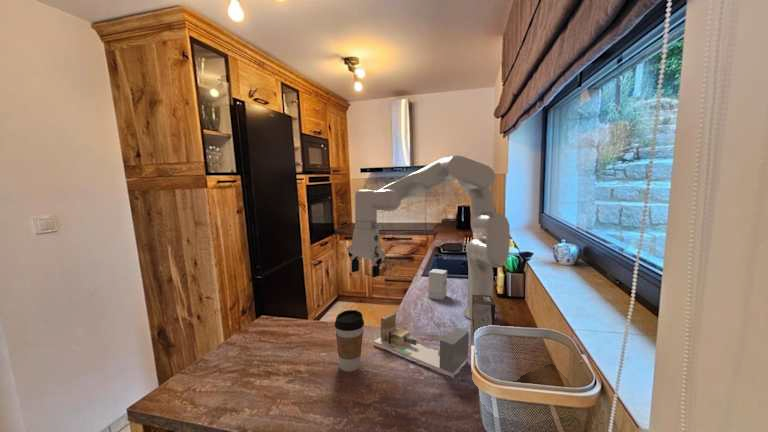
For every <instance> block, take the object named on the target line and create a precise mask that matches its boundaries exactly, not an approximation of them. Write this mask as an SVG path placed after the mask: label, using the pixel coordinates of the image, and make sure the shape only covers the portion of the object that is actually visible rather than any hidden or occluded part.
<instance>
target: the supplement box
mask: <svg viewBox="0 0 768 432" xmlns="http://www.w3.org/2000/svg"><path fill="white" fill-rule="evenodd" d="M427 281H428V284H427V285H428V287H427V288H428V290H427V292H428V293H427V298H428V299H433V300H437V301H438V300H439V301H443V300H444V299H445V298H446V297H447V290H448V289H447V288H448V287H447V286H448V269H447V270H446V269H439V268H432V269H431V270H430V271H429V272H428V280H427Z"/></svg>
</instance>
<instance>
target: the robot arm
mask: <svg viewBox="0 0 768 432" xmlns="http://www.w3.org/2000/svg"><path fill="white" fill-rule="evenodd" d="M495 179H496V174H495V171H494V169H493V168H492V167H491V166H489V165H487V164H484V163H482V162H480V161H476V160H474V159H472V158H471V159H470V158H468V157H466V156H462V155H457V154H456V155H451V156H446V157H442V158H440V159H438V160H436V161H434V162H432V163H430V164H429V165H426V166H424V167H423V168H420V169H419V170H417V171H415V172H412V173H410V174H408V175H406V176H404V177H402V178H401V179H398V180H396V181H394V182H392V183H389V184H388V185H385V186H383V187H381V188H380V189H378V190H374V189H373V190H372V189H358V190H356V191H355V195H354V196H355V197H354V198H355V199H354V200H355V202H354V204H355V205H354V228H353V233H352V241H351V245H349V246H348V247H346V251H347V254H348V255H347V256H348V257H349V261H350V262H351V273H356V272H359V271H360V260H359V258H361V259H364V260H365V259H366V260H370V261H371V262H372V264H373V265H372V267H371V269H372V270H371V271H372V272H371V273H372V274H371V277H372V278H377V277H379V276H380V273H381V272H380V271H381V270H380V269H381V265H382V263H383V262H384V261H385V258H386V257H387V253H386V252H385V251H383V250H382V249H381V237H380V236H381V235H380V231H379V229H377V228H379V223H378V221H377V216H378V215H377V213H378V211H382V212H384V211H385V212H393V211H396V210H397V209H398V208H399V207H400V206H401V205H402V204H401V203H402V201H403V200H404V199H405V200H406V199H409V198H411V197H415V196H421V195H425V194H426V193H428V192H430V191H432V190H434V189H436V188H438V187H440V186H441V185H443V184H445V183H447V182H449V181H453V180H454V181H455V180H457V182H458V184H459V186H460V187H461V188H463V189H464V190H465V191H466V192H467V194H468V195H469V198H470V228H471V231H472V232H473V233H474V234H476V235H479V236H483V237H485V238H482V237H475V238H473V239H471V240H470V241H469V242H468V243H467V246H466V258H467V266H468V274H467V275H468V276H467V279H468V280H467V308H464V309H463V316H464V317H466V319H468V320H471V308H472V295H491V297H492V299H493V295H494V293H493V291H494V290H493V289H494V269H493V268H497V269H498V268H501V267H503V266H504V265H505V264H506V263H507V262H508V259H509V256H510V255H509V254H510V233H511V227H510V223H509V220H508V218H507V217H506V216H505V215H504V214H503V213H500V212H497V211H495V204H494V202H495V201H494V200H495V199H494V195H493V191H492V190H491V187H492V186H493V185H494V183H495V181H496V180H495ZM496 318H497V314H496V313H495V320H496Z"/></svg>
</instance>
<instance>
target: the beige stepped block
mask: <svg viewBox="0 0 768 432" xmlns="http://www.w3.org/2000/svg"><path fill="white" fill-rule="evenodd" d="M396 314H397V313H395V312H389V313H388V314H386V315H384V316H382V317H380V337H381V340H383V341H386V340H387V341H389V344H391V342H392V343H394V344H397V345H399V346H402V345H403V344H405V343H406V342H408V343H410V344H413V345H416V344H417V340H415V339H416V338H415V339H412V338H413V337H412V338H410V337H411V336H410V331H408V330H405V329H403V328H399V327H397V324H396V323H397V320H396V319H397V318H396V317H397V315H396ZM409 336H410V337H409Z"/></svg>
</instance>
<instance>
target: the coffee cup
mask: <svg viewBox="0 0 768 432" xmlns="http://www.w3.org/2000/svg"><path fill="white" fill-rule="evenodd" d="M364 326H365V320H364V318H363V313H362V311H359V310H356V309H351V310H350V309H348V310H344V311H342V312H340V313H338V314H337V315H336V318H335V322H334V328H336V329H335V330H336V331H335V338H336V346H337V356H338V367H339V369H340V370H341V371H343V372H354V371H356V370H358V369H359V368H360V366H361V355H362V354H361V353H362V346H363V345H362V344H363V335H364V331H363V328H364Z"/></svg>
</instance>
